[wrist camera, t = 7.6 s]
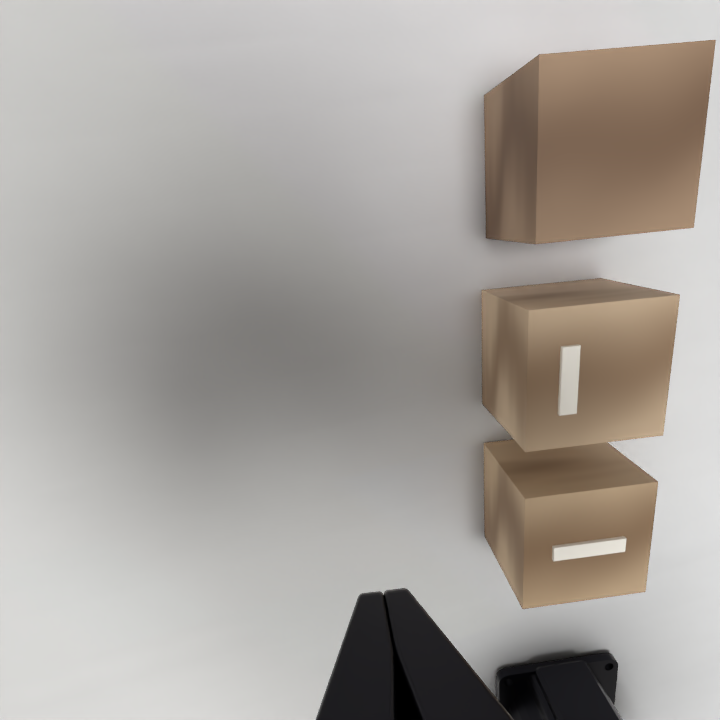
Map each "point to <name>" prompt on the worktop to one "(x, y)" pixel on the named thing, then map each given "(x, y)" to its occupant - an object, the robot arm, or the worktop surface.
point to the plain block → (597, 143)
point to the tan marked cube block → (577, 361)
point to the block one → (568, 521)
